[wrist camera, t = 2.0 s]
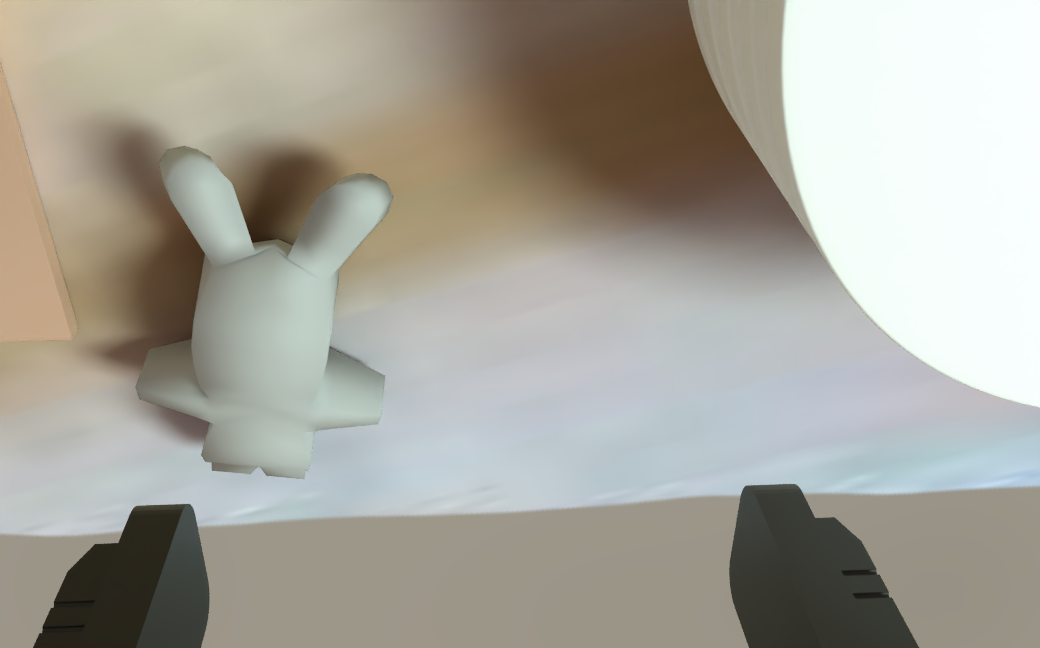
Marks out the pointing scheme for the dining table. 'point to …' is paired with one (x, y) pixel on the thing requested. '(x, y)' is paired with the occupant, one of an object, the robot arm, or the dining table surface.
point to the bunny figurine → (265, 324)
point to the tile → (26, 247)
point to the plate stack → (904, 161)
